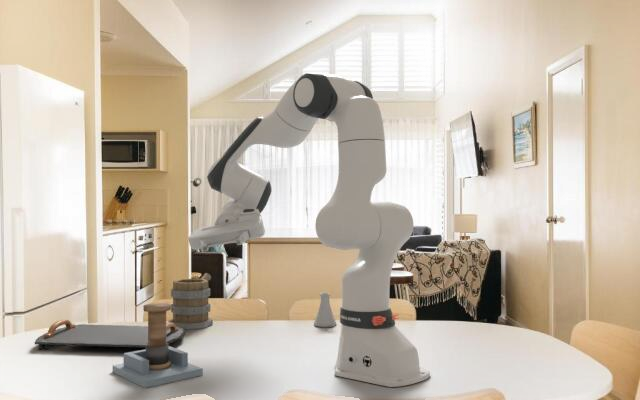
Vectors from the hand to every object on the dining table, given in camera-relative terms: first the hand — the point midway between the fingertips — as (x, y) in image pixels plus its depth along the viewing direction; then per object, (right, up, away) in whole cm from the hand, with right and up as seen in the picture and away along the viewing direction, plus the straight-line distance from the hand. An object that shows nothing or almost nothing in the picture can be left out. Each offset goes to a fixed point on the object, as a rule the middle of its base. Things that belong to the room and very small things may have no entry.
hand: (221, 245), depth 157 cm
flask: (+27, -28, +35) cm, 52 cm away
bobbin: (-12, -26, -17) cm, 34 cm away
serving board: (-32, -28, +12) cm, 44 cm away
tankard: (-14, -28, +39) cm, 50 cm away
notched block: (-12, -28, -17) cm, 35 cm away
